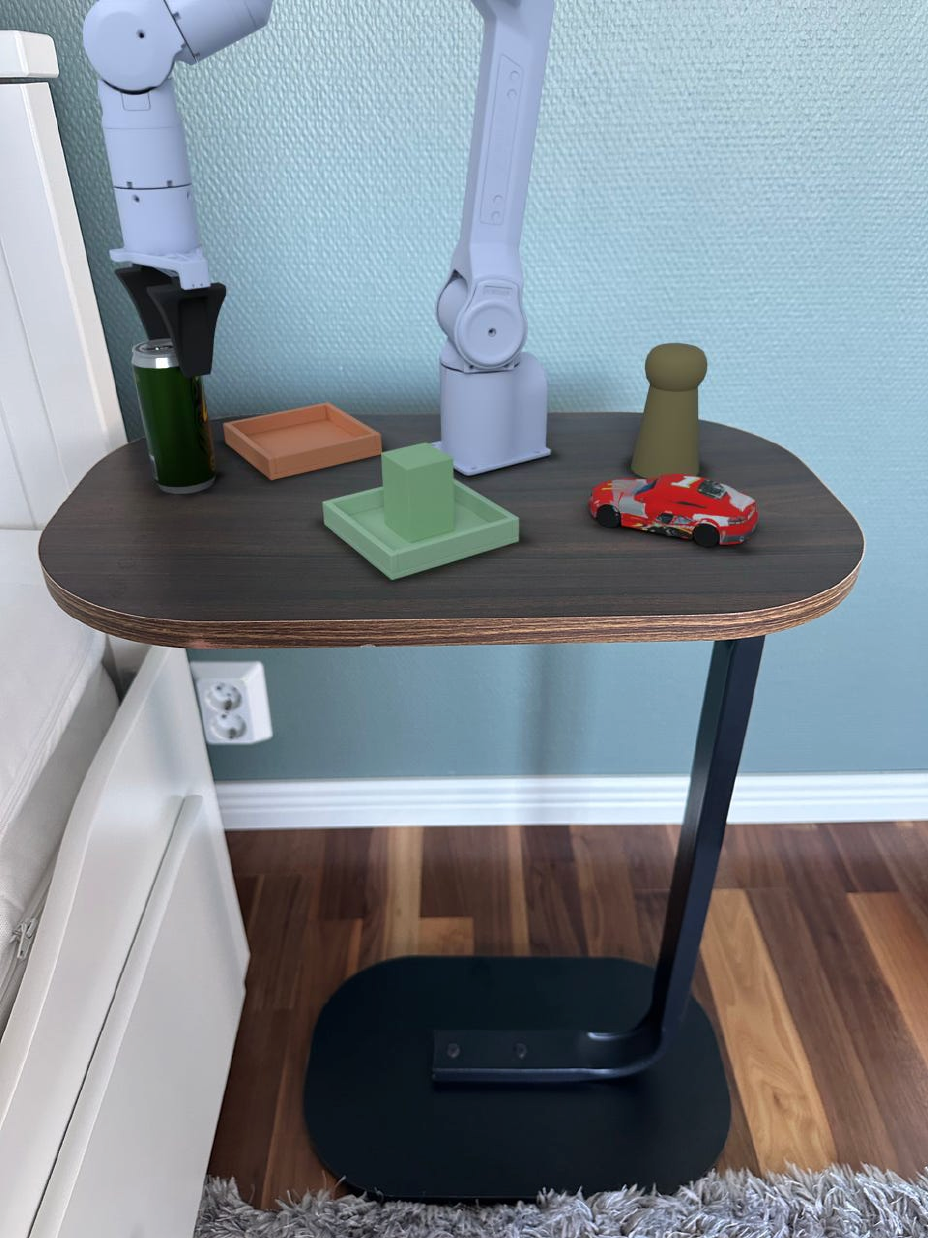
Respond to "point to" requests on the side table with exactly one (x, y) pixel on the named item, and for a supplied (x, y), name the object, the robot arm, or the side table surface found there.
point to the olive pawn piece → (670, 412)
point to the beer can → (173, 419)
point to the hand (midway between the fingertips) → (182, 363)
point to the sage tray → (396, 557)
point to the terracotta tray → (301, 440)
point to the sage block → (418, 491)
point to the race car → (677, 508)
